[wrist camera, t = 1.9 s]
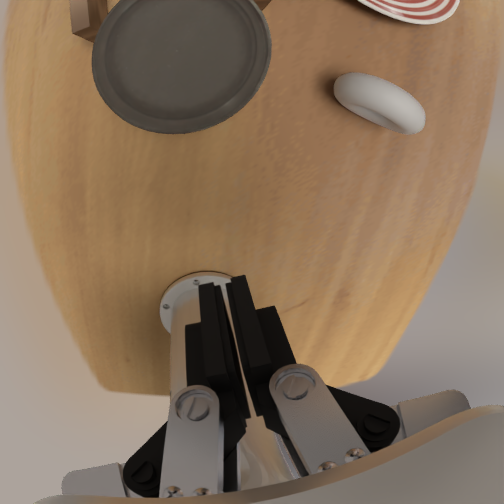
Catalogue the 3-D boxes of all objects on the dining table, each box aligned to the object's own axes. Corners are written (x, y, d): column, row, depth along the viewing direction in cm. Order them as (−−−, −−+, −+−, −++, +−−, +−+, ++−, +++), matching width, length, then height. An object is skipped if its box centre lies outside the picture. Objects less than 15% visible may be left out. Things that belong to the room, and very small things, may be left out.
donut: (392, 107, 30) (448, 119, 22) (382, 131, 32) (437, 149, 23) (324, 68, 27) (374, 63, 18) (313, 94, 28) (360, 98, 20)
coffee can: (228, 123, 29) (254, 144, 17) (129, 114, 26) (81, 131, 14) (246, 31, 24) (286, -12, 12) (145, 21, 21) (111, -28, 9)
